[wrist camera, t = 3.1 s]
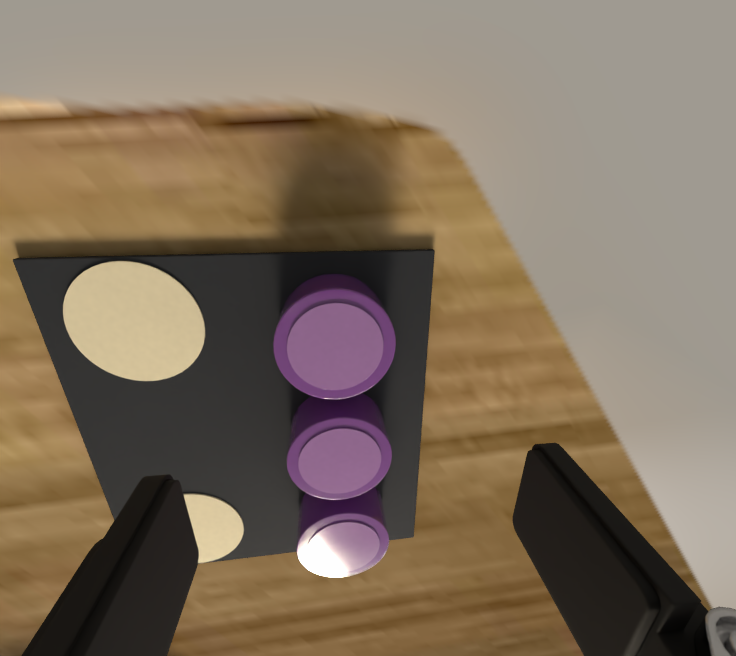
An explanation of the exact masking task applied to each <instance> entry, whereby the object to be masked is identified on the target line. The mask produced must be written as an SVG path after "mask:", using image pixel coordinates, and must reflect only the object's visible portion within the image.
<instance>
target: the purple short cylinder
mask: <svg viewBox="0 0 736 656" xmlns="http://www.w3.org/2000/svg"><path fill="white" fill-rule="evenodd" d="M395 348H396V336H395V331H394V327H393V324H392V322H391V320H390V318H389V316H388V314H387V312H386V310H385V308H384V307H383V305H382V303H381V301H380V299H379V298H378V296H377V295H376V293H375V292H374V291H373V290H372V289H371V288H370V287H369V286H367V285H366V284H365V283H363V282H362V281H360V280H358V279H356V278H353V277H350V276H347V275H341V274H326V275H320V276H316V277H314V278H311V279H309V280H307V281H305V282H303V283H302V284H301V285H299V286H298V287H297V288H296V289H295V290H293V292H292V293H291V294H290V295H289V296H288V298H287V300H286V301H285V303H284V306H283V308H282V311H281V314H280V317H279V320H278V323H277V326H276V330H275V334H274V340H273V351H274V356H275V360H276V363H277V365H278V367H279V369H280V371H281V373H282V374H283V375H284V377H285V378H286V379H287V380H288V381H289V382H290V383H291V384H292V385H293V386H294V387H296V388H297V389H299V390H300V391H302V392H304V393H306V394H308V395H311V396H314V397H318V398H322V399H344V398H349V397H353V396H355V395H358V394H361V393H363V392H365V391H367V390H368V389H370V388H371V387H373V386H374V385H375V384H376V383H377V382H379V380H380V379H381V378H382V377H383V376H384V375H385V373H386V372H387V371H388V369H389V367H390V365H391V363H392V360H393V358H394V354H395Z"/></svg>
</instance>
